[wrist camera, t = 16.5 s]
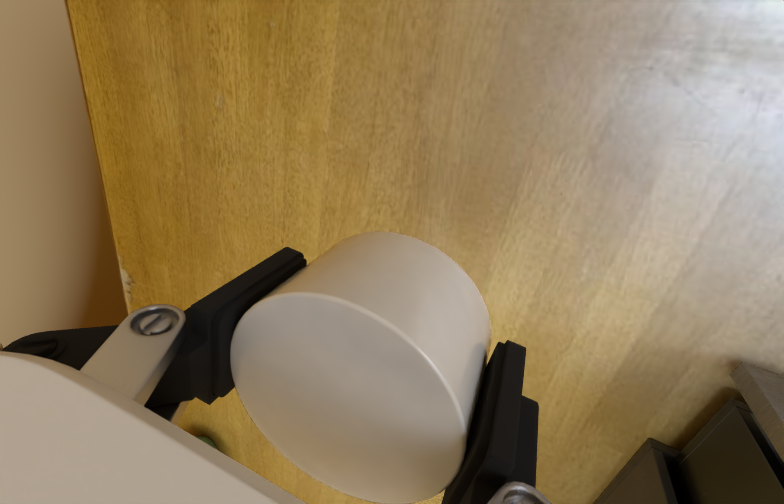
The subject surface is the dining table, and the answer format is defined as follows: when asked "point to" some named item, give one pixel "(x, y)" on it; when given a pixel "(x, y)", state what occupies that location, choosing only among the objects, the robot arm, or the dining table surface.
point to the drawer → (737, 447)
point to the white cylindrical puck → (368, 367)
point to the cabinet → (643, 478)
